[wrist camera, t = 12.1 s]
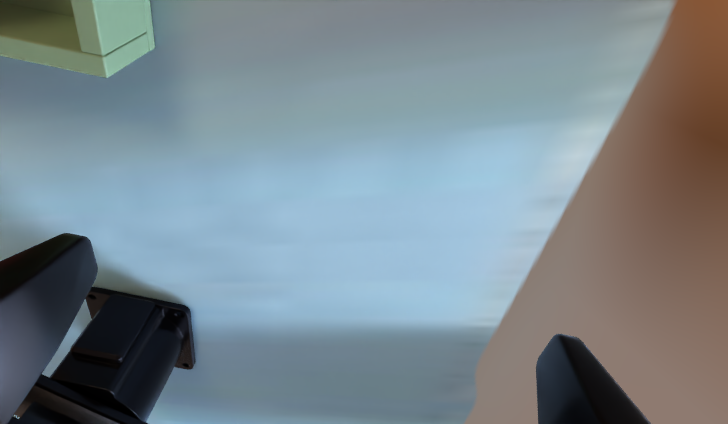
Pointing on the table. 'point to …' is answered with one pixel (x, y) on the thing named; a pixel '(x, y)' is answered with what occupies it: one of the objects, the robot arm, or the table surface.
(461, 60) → the table surface
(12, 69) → the table surface
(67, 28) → the green bin
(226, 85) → the table surface
